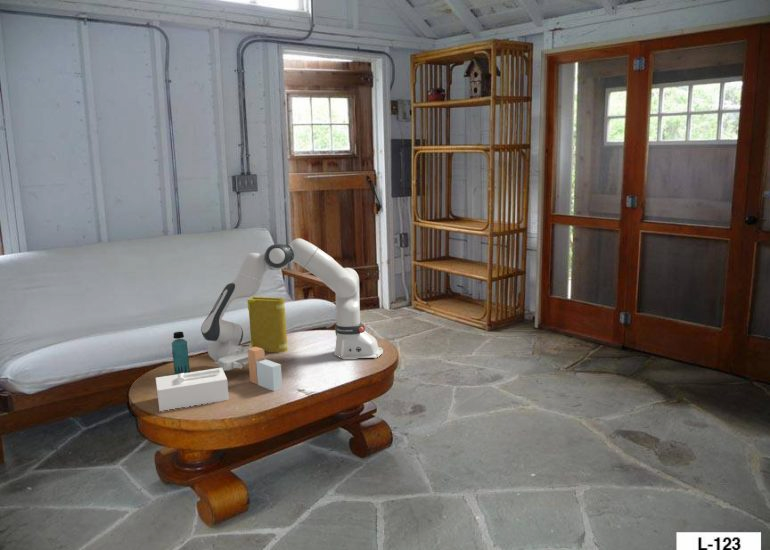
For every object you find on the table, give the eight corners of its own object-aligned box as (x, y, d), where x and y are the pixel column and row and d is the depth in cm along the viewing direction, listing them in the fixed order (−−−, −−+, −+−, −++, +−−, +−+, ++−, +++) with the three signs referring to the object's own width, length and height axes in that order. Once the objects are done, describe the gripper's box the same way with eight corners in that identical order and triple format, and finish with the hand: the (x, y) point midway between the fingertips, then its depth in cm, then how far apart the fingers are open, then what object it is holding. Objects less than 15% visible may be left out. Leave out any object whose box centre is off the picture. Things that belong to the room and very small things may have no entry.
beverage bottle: (185, 373, 264) (180, 329, 260) (194, 377, 260) (189, 331, 256) (171, 378, 259) (166, 332, 255) (180, 381, 255) (175, 335, 251)
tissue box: (158, 398, 238) (155, 372, 236) (223, 387, 248) (221, 362, 245) (159, 412, 225) (156, 384, 223) (229, 400, 234) (226, 373, 232)
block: (250, 381, 252) (247, 349, 249) (258, 378, 255) (255, 346, 252) (257, 384, 249) (254, 351, 246) (265, 381, 252) (263, 348, 249)
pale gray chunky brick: (257, 384, 249) (255, 361, 247) (265, 381, 252) (264, 358, 250) (274, 391, 241) (272, 366, 239) (282, 388, 244) (280, 364, 242)
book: (251, 350, 292) (247, 299, 287) (258, 346, 298) (254, 296, 293) (283, 353, 287) (280, 301, 282) (289, 348, 293) (286, 297, 288)
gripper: (211, 355, 254) (230, 362, 245) (252, 343, 269) (271, 349, 259) (212, 370, 255) (231, 377, 246) (253, 357, 270) (272, 363, 260)
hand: (252, 363), depth 253 cm, fingers open, 8 cm apart
